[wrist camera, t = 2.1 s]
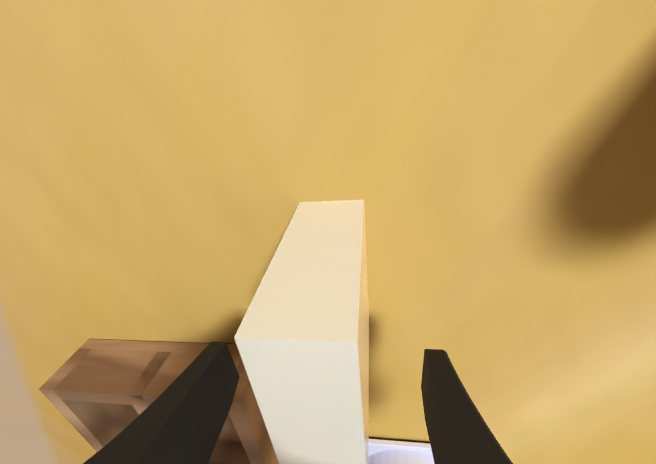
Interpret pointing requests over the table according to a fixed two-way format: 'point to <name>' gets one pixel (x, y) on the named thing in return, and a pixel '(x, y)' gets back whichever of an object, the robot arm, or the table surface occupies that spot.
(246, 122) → the table surface
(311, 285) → the white square block
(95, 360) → the rack
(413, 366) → the table surface
